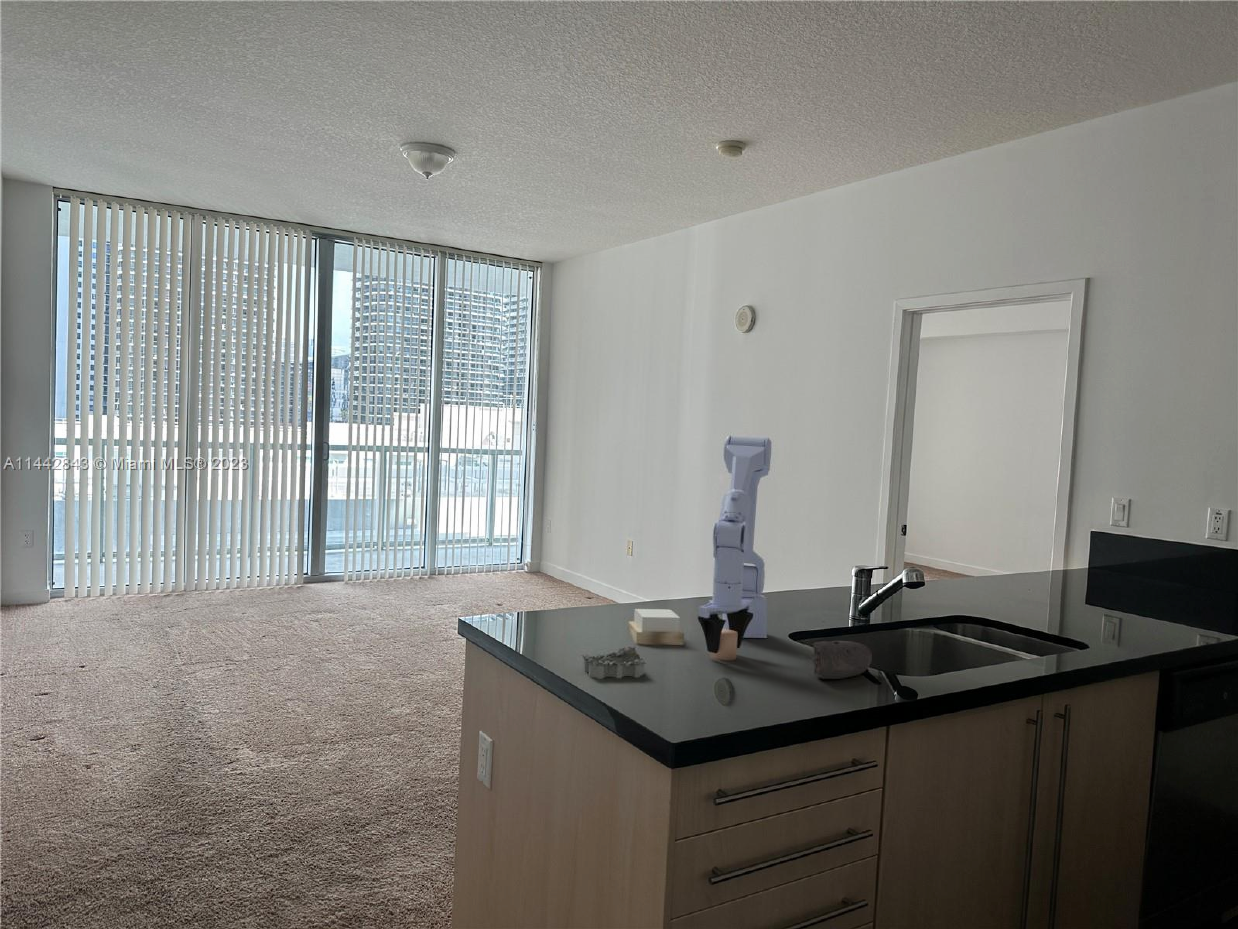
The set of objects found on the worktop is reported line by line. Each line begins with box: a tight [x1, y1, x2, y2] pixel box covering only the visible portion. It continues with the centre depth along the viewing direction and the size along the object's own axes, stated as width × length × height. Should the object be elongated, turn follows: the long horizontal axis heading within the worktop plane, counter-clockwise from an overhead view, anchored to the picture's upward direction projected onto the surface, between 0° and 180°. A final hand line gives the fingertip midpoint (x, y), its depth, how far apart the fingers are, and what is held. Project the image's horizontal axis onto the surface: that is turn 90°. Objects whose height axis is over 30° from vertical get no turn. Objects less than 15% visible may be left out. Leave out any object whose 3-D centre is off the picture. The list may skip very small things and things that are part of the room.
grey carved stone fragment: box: [581, 646, 647, 680], centre depth 148 cm, size 11×8×4 cm
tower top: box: [633, 608, 681, 632], centre depth 175 cm, size 8×8×3 cm
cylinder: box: [710, 629, 738, 661], centre depth 163 cm, size 5×5×5 cm
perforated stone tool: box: [811, 640, 873, 680], centre depth 154 cm, size 15×5×7 cm, turn 119°
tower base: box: [627, 620, 685, 646], centre depth 175 cm, size 10×10×3 cm
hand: (723, 649), depth 163 cm, fingers open, 6 cm apart
